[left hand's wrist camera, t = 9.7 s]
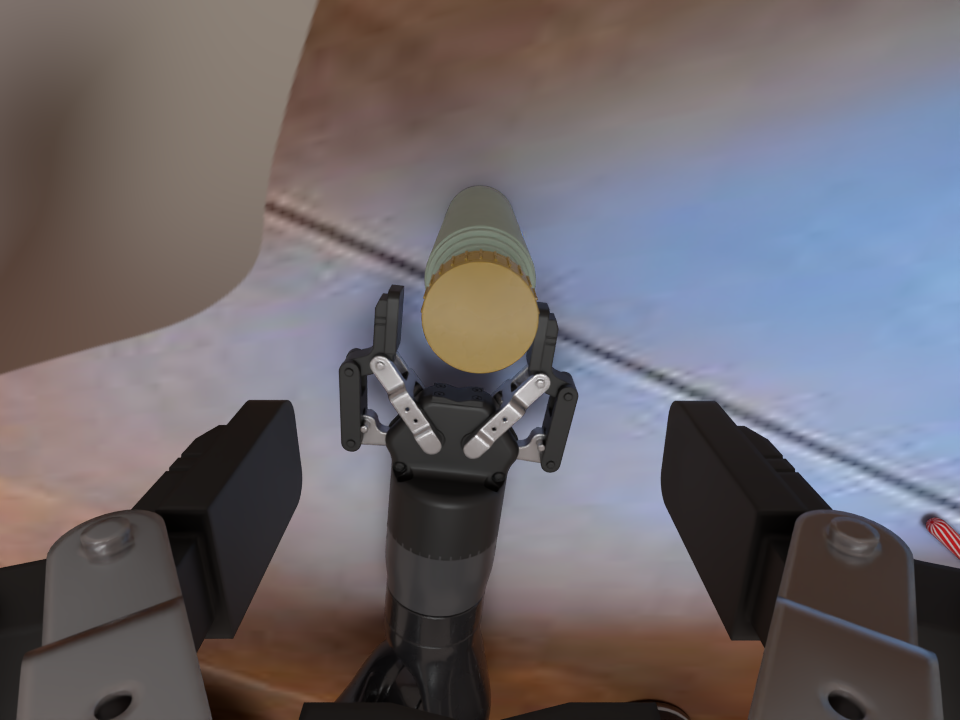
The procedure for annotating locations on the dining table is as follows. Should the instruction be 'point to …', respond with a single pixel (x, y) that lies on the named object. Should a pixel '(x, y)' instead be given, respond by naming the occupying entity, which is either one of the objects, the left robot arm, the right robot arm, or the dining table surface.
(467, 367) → the cap
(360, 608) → the dining table surface
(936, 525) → the candy cane
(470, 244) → the bottle
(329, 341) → the dining table surface
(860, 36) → the dining table surface
